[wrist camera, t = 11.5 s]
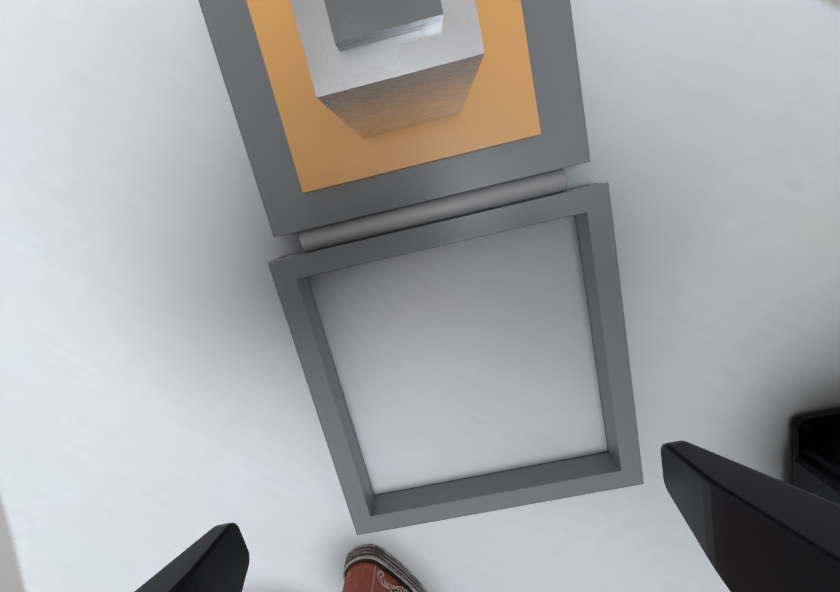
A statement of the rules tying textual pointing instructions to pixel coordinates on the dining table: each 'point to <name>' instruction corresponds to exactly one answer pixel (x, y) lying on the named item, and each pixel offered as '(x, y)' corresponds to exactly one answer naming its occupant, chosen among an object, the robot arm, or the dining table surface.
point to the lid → (410, 147)
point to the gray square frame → (495, 488)
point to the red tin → (377, 572)
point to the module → (390, 59)
